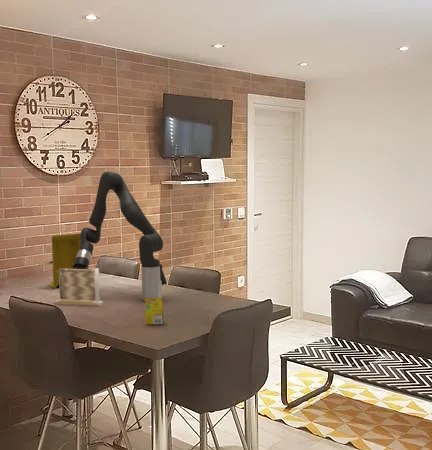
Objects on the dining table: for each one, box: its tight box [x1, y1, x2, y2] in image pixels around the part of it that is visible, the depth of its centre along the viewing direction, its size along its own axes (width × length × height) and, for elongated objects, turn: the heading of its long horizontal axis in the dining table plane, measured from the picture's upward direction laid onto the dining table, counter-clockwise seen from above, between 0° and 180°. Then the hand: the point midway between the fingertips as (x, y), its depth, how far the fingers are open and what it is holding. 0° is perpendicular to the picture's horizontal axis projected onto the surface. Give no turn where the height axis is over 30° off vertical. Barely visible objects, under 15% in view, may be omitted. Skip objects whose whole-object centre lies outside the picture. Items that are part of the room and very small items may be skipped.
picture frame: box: [52, 267, 104, 307], centre depth 292 cm, size 25×5×18 cm, turn 76°
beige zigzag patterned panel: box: [58, 268, 96, 301], centre depth 292 cm, size 18×2×15 cm, turn 76°
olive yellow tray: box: [38, 232, 96, 290], centre depth 338 cm, size 31×14×30 cm, turn 125°
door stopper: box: [160, 263, 168, 286], centre depth 339 cm, size 9×6×12 cm, turn 124°
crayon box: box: [144, 297, 164, 325], centre depth 255 cm, size 7×3×12 cm, turn 88°
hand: (73, 288), depth 296 cm, fingers closed
